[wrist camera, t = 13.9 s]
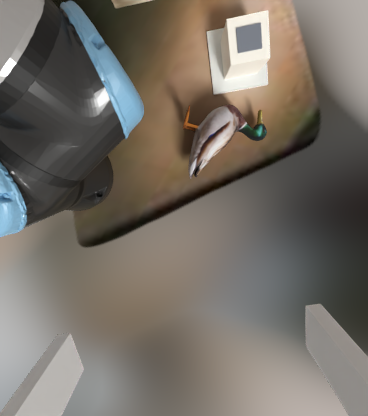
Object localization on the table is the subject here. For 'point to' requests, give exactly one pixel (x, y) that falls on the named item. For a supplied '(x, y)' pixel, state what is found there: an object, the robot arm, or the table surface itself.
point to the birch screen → (127, 2)
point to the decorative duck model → (218, 134)
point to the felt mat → (217, 69)
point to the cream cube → (245, 45)
